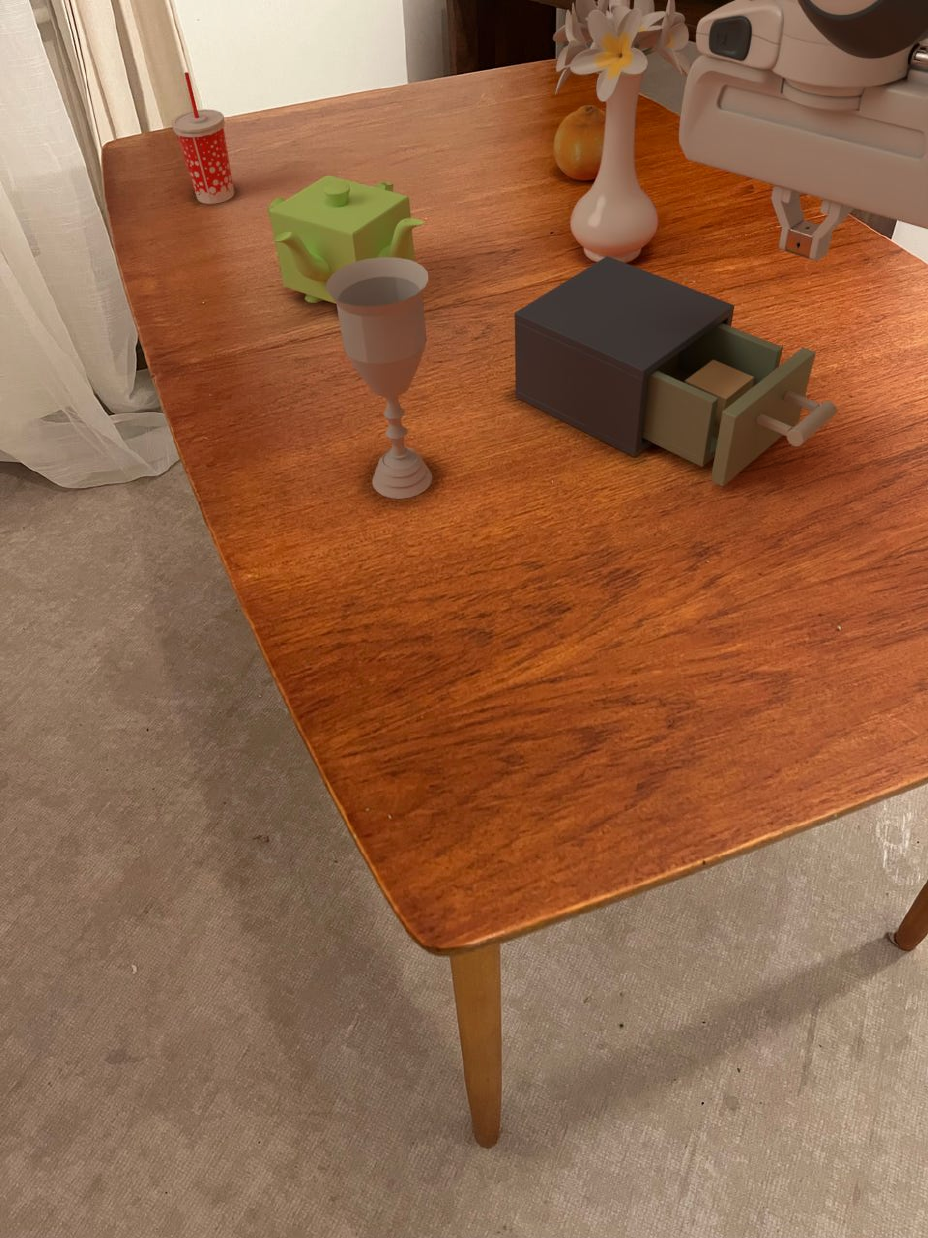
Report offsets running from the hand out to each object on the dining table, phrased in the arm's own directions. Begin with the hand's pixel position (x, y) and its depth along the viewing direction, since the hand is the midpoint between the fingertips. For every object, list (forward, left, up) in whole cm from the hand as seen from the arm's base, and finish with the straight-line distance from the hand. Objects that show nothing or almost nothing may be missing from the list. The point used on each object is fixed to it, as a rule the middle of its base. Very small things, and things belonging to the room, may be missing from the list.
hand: (802, 252), depth 69 cm
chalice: (+29, +6, -18) cm, 35 cm away
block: (+4, -2, -16) cm, 17 cm away
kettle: (+41, -23, -18) cm, 51 cm away
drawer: (+3, -2, -17) cm, 18 cm away
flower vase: (+15, -35, -18) cm, 42 cm away
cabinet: (+12, -8, -18) cm, 23 cm away
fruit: (+19, -54, -18) cm, 60 cm away
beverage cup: (+64, -45, -18) cm, 81 cm away
